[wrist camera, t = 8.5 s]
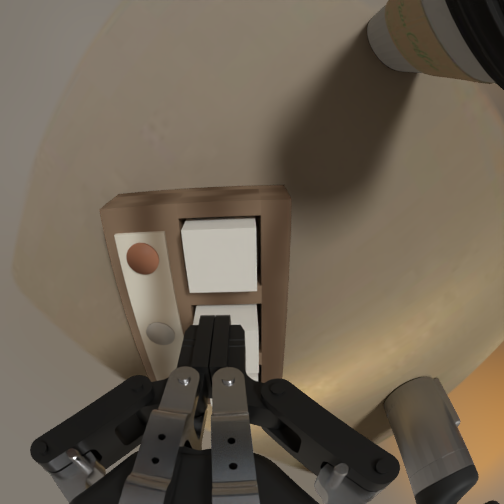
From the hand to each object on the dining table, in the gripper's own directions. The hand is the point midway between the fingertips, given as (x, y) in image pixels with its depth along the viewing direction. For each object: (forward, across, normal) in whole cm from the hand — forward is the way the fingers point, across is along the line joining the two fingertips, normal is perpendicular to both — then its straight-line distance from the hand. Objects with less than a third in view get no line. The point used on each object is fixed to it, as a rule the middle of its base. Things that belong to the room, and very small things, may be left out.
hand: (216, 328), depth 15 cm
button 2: (+9, 0, +7) cm, 11 cm away
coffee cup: (+12, -15, -18) cm, 26 cm away
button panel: (+12, +2, +7) cm, 14 cm away
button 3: (+10, 0, 0) cm, 10 cm away
